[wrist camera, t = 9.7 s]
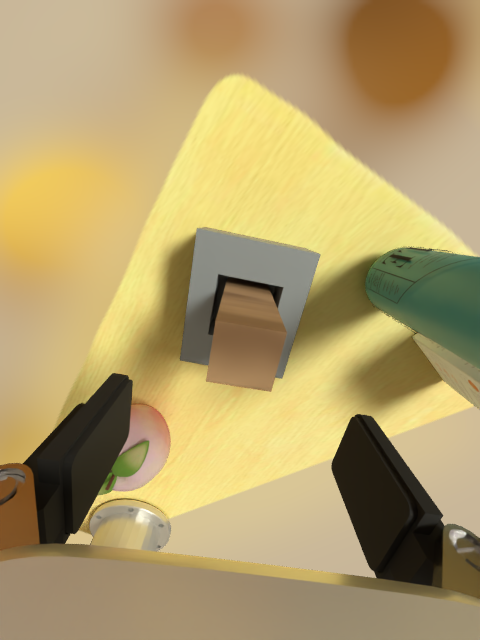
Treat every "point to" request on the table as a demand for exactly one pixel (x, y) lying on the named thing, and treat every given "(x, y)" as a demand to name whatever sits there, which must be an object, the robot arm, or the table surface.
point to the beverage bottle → (431, 296)
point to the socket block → (249, 264)
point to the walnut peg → (246, 337)
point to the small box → (452, 369)
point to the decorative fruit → (140, 451)
